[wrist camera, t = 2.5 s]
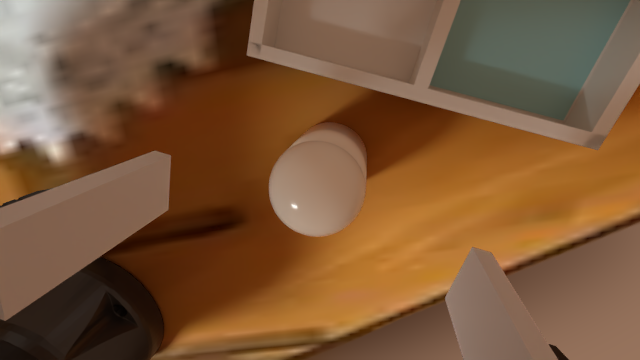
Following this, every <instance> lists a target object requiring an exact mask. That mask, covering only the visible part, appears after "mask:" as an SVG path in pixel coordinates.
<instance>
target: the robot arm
mask: <svg viewBox="0 0 640 360" xmlns="http://www.w3.org/2000/svg"><path fill="white" fill-rule="evenodd" d="M170 167H171V155H168V154H165V153H161V152H158V151H152V152H150V153H147V154H144V155H142V156H139V157H136V158H134V159H131V160H128V161H125V162H123V163H120V164H117V165H115V166H112V167H109V168H107V169H104V170H101V171H99V172H96V173H93V174H90V175H88V176H85V177H82V178H80V179H77V180H74V181H72V182H69V183H66V184H64V185H61V186H58V187H56V188H52V189H47V190H41V191H37V192H34V193H31V194H28V195H26V196H23V197H20V198H19V199H18V200H12V201H9V202H6V203H4V204H3V205H2V206H0V360H150V359H151V358H152V356H153V355H154V354H155V352H156V351H157V350H158V348H159V347H160V345H161V342H162V339H163V333H164V328H163V321H162V317H161V314H160V312H159V309H158V307H157V305H156V303H155V302H154V300H153V298H152V297H151V295H150V294H149V293H148V291H147V290H146V289H145V288H144V287H143V286H142V285H141V284H140V283H139V282H138V281H137V280H136V279H135V278H134V277H133V276H132V275H130V274H129V273H128V272H126V271H125V270H123V269H122V268H120V267H119V266H117V265H115V264H114V263H112V262H110V261H108V260H105V259H103V258H100V256H101V255H103V254H104V253H106V252H107V251H109V250H110V249H112V248H113V247H115V246H116V245H118V244H119V243H121V242H122V241H124V240H125V239H126V238H128V237H129V236H131V235H132V234H134V233H135V232H137V231H138V230H140V229H141V228H143V227H144V226H146V225H147V224H148V223H150V222H151V221H153V220H154V219H156V218H157V217H159V216H160V215H162V214H163V213H165V212H166V211H168V208H169V187H170ZM445 300H446V303H447V306H448V310H449V313H450V316H451V319H452V323H453V326H454V330H455V333H456V336H457V340H458V343H459V347H460V350H461V353H462V357H463V360H568V358H567V357H566V356H565V355H563V353H562V352H561V351H560V350H559V349H558V348H557V347H556V346H553V345H550V344H548V343H547V341H546V339H545V338H544V336H543V335H542V333H541V332H540V330H539V328H538V327H537V325H536V324H535V322H534V320H533V319H532V317H531V315H530V314H529V312H528V311H527V309H526V307H525V306H524V304H523V303H522V301H521V299H520V298H519V296H518V294H517V293H516V292H515V290H514V288H513V286H512V285H511V284H510V282H509V280H508V279H507V277H506V275H505V274H504V272H503V270H502V269H501V267H500V266H499V264H498V262H497V261H496V259H495V258H494V256H493V254H492V253H491V252H488V251H484V250H481V249H478V248H474V247H472V248H471V250H470V252H469V254H468V256H467V258H466V260H465V262H464V263H463V265H462V267H461V269H460V271H459V273H458V275H457V277H456V278H455V280H454V282H453V284H452V286H451V288H450V290H449V292H448V293H447V295H446V297H445Z"/></svg>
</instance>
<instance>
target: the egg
mask: <svg viewBox="0 0 640 360" xmlns="http://www.w3.org/2000/svg"><path fill="white" fill-rule="evenodd" d="M366 174H367V152H366V148H365V145H364V143H363V141H362V140H361V138H360V137H359V136H358V134H357V133H356V132H355V131H353V130H352V129H351V128H349V127H347V126H345V125H342V124H339V123H334V122H326V123H321V124H318V125H315V126H313V127H311V128H310V129H308V130H307V131H306V132H305V133H304V134H303V135H302V136H301V137H300V138H299V139H298V140H297V141H296V142H294V143H293V144H292V145H291V146H290V147H289V148H288V149H287V150H286V151H285V152H284V153H283V154H282V155H281V156H280V158H279V159H278V160H277V162H276V163H275V165H274V167H273V169H272V172H271V175H270V179H269V197H270V201H271V204H272V207H273V209H274V211H275V213H276V215H277V216H278V217H279V219H280V220H281V221H282V222H283V223H284V224H285V225H286V226H288V227H289V228H290V229H292V230H294V231H296V232H298V233H300V234H303V235H307V236H314V237H321V236H327V235H331V234H334V233H337V232H339V231H341V230H343V229H344V228H345V227H347V226H348V225H349V224H350V223H351V222H352V221H353V220H354V219H355V218H356V217H357V215H358V213H359V212H360V210H361V208H362V206H363V203H364V199H365V193H366Z"/></svg>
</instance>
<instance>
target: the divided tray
mask: <svg viewBox="0 0 640 360" xmlns="http://www.w3.org/2000/svg"><path fill="white" fill-rule="evenodd" d="M247 56H250V57H254V58H258V59H261V60H265V61H269V62H273V63H276V64H280V65H284V66H287V67H291V68H295V69H299V70H302V71H306V72H310V73H313V74H317V75H321V76H325V77H328V78H332V79H336V80H339V81H343V82H347V83H350V84H354V85H358V86H362V87H365V88H369V89H373V90H376V91H380V92H384V93H388V94H391V95H395V96H399V97H402V98H406V99H410V100H414V101H417V102H421V103H425V104H428V105H432V106H436V107H439V108H443V109H447V110H451V111H454V112H458V113H462V114H465V115H469V116H473V117H477V118H480V119H484V120H488V121H491V122H495V123H499V124H503V125H506V126H510V127H514V128H517V129H521V130H525V131H528V132H532V133H536V134H540V135H543V136H547V137H551V138H554V139H558V140H562V141H566V142H569V143H573V144H577V145H580V146H584V147H588V148H592V149H595V150H598V149H599V148H600V146H601V144H602V143H603V141H604V140H605V138H606V137H607V135H608V133H609V132H610V130H611V129H612V127H613V125H614V124H615V122H616V121H617V119H618V117H619V116H620V114H621V113H622V111H623V110H624V108H625V106H626V105H627V103H628V102H629V100H630V98H631V97H632V95H633V94H634V92H635V90H636V89H637V87H638V86H639V84H640V0H254V5H253V13H252V20H251V27H250V34H249V41H248V49H247Z"/></svg>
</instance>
